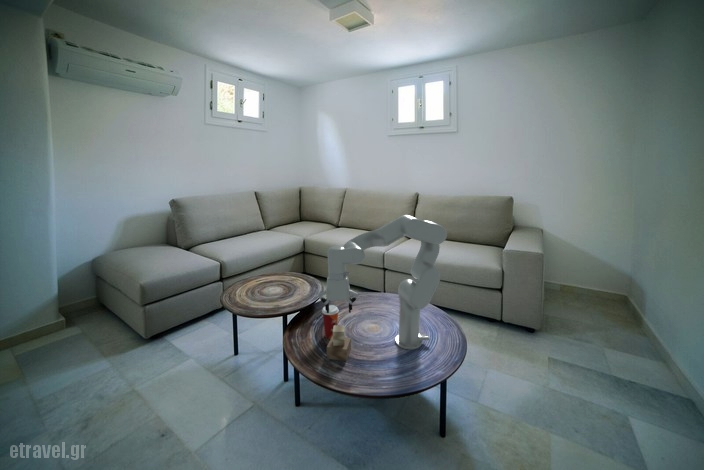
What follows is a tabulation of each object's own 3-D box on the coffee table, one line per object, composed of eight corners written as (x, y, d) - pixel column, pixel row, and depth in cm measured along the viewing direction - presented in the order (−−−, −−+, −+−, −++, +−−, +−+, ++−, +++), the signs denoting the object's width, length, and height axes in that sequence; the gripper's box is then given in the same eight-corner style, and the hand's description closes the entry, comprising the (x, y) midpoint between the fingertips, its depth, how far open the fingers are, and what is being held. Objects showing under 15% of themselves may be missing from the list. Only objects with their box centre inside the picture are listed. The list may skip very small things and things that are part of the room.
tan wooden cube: (351, 349, 141) (350, 338, 140) (346, 361, 133) (346, 349, 131) (332, 347, 143) (332, 335, 142) (327, 359, 134) (326, 347, 133)
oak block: (345, 339, 139) (344, 325, 137) (344, 345, 134) (344, 331, 132) (334, 338, 139) (333, 325, 137) (333, 345, 134) (332, 331, 132)
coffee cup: (337, 340, 148) (336, 312, 144) (320, 339, 149) (319, 311, 146) (341, 331, 156) (340, 305, 152) (325, 330, 157) (324, 303, 154)
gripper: (357, 271, 132) (358, 307, 136) (318, 272, 132) (320, 307, 137) (357, 278, 125) (358, 315, 129) (316, 278, 125) (318, 316, 129)
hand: (339, 311), depth 133 cm, fingers open, 9 cm apart
